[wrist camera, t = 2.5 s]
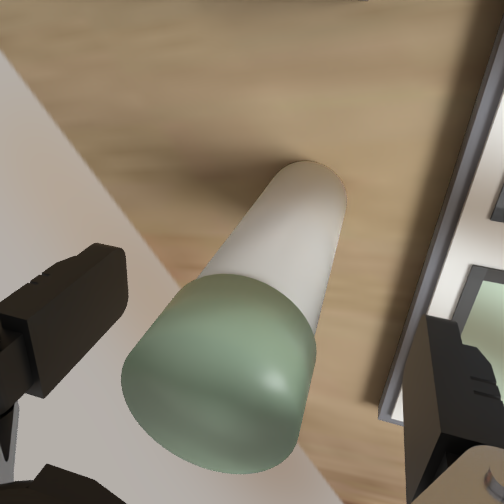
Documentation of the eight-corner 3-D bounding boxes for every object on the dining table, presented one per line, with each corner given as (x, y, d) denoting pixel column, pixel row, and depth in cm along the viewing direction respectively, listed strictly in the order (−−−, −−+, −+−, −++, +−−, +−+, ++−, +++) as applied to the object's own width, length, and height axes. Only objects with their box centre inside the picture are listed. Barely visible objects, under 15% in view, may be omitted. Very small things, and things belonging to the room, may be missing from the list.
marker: (268, 150, 17) (113, 311, 7) (359, 165, 16) (312, 362, 7) (261, 230, 18) (127, 443, 9) (342, 246, 18) (287, 495, 8)
